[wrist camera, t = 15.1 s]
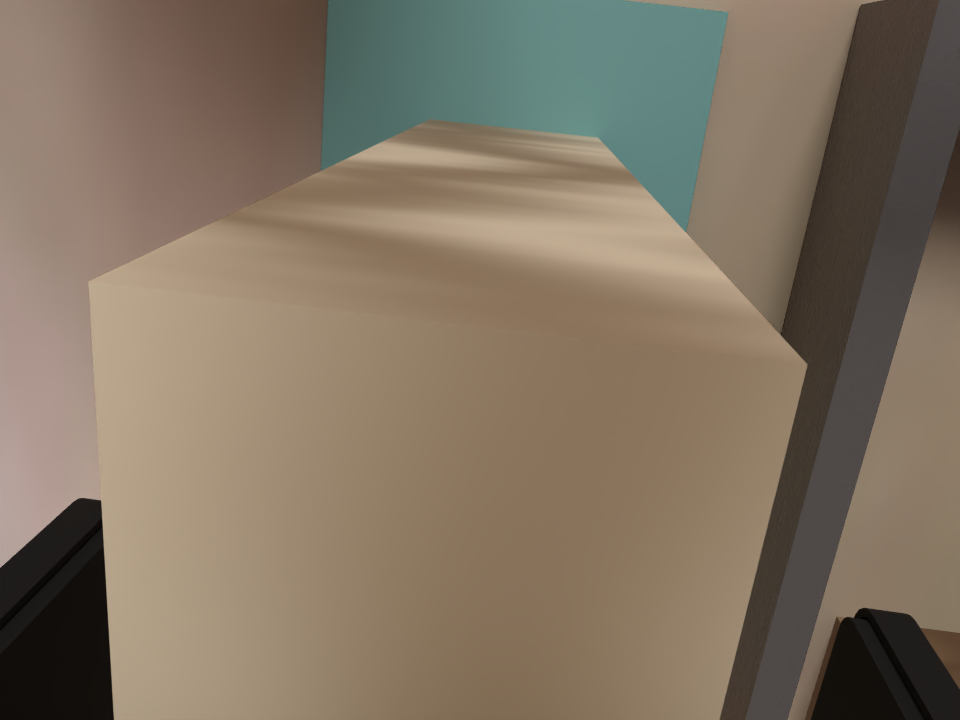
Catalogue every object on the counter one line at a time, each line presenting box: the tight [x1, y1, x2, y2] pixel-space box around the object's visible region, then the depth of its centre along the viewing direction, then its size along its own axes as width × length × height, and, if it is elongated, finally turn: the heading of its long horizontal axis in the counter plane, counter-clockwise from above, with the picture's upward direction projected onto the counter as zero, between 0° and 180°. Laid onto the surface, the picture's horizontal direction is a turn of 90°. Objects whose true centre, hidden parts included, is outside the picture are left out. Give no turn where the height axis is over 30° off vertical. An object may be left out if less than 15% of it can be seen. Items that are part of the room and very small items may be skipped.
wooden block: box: [89, 119, 807, 720], centre depth 14 cm, size 4×12×16 cm, turn 174°
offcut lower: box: [805, 617, 960, 720], centre depth 23 cm, size 4×4×3 cm
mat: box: [321, 0, 728, 232], centre depth 22 cm, size 9×18×1 cm, turn 174°
